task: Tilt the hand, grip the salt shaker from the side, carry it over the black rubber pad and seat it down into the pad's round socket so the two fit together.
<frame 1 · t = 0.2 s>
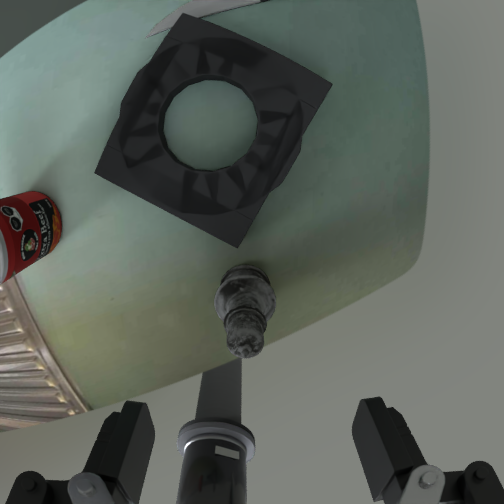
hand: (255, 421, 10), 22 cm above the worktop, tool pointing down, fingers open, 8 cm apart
canned food: (39, 221, 30), on the worktop
black pad: (209, 124, 28), on the worktop
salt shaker: (245, 287, 33), on the worktop
chef's knife: (230, 0, 24), on the worktop
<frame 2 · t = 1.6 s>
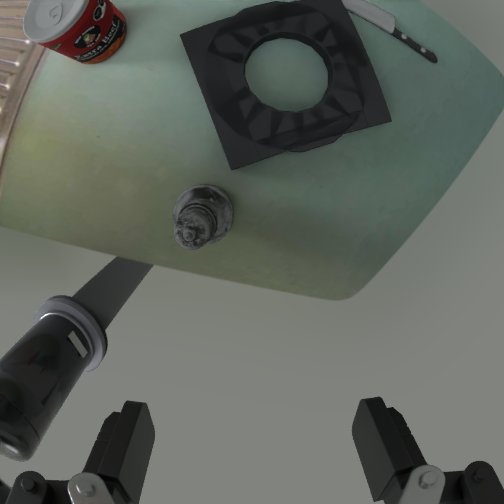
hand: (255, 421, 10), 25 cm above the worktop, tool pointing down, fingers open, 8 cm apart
canned food: (100, 37, 27), on the worktop
black pad: (287, 74, 29), on the worktop
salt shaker: (207, 208, 33), on the worktop
chef's knife: (373, 15, 27), on the worktop
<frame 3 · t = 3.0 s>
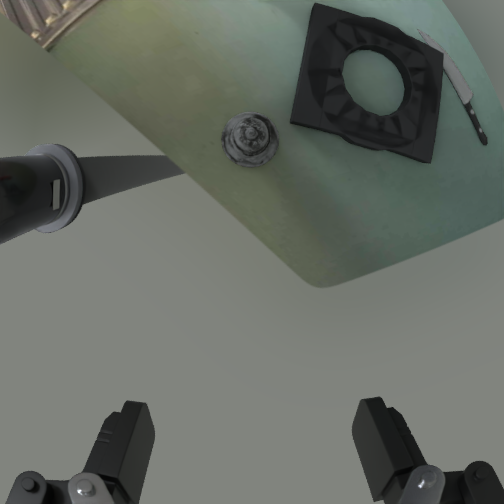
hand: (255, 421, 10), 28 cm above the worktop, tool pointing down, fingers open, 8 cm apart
black pad: (372, 82, 31), on the worktop
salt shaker: (249, 141, 34), on the worktop
chef's knife: (458, 84, 31), on the worktop
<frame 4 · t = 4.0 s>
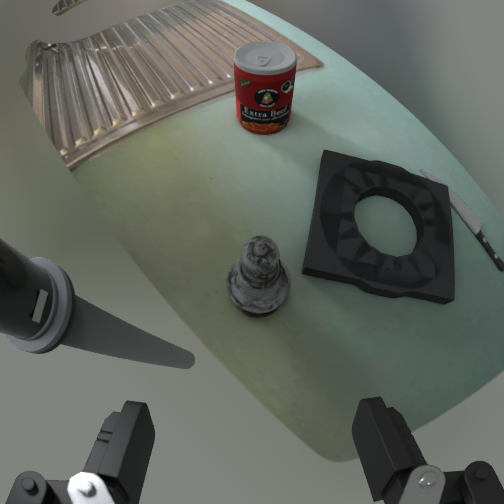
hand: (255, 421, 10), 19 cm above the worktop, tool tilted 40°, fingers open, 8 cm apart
canned food: (263, 117, 42), on the worktop
black pad: (384, 227, 35), on the worktop
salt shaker: (258, 292, 32), on the worktop
chef's knife: (466, 216, 36), on the worktop
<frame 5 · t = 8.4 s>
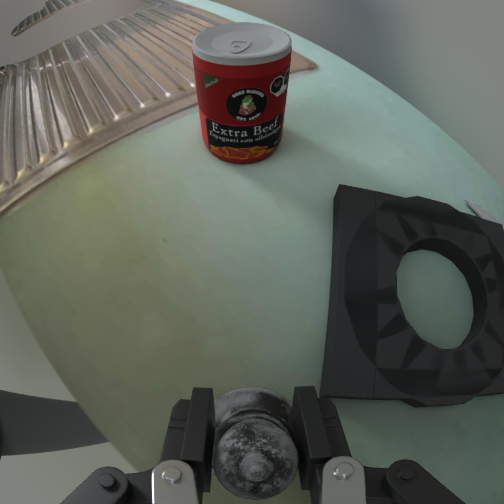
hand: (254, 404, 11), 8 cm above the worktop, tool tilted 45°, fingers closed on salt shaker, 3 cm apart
canned food: (242, 139, 29), on the worktop
black pad: (434, 299, 22), on the worktop
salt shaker: (251, 432, 17), on the worktop, touching gripper
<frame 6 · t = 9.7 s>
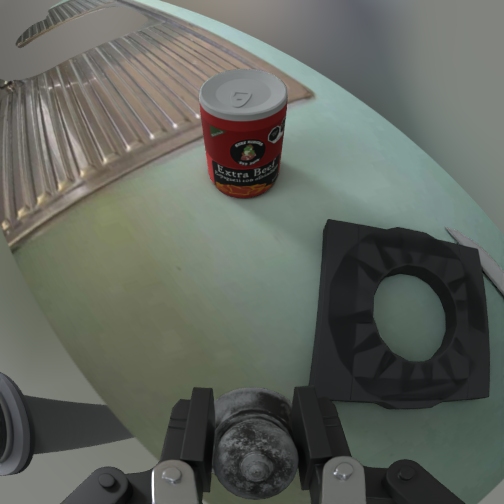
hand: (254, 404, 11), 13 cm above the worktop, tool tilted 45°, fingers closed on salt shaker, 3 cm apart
canned food: (244, 173, 34), on the worktop
black pad: (408, 318, 26), on the worktop
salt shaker: (251, 432, 17), point 5 cm above the worktop, touching gripper
chef's knife: (497, 279, 28), on the worktop
when the fingers open (8 cm above the worktop, at t = 18.1 s): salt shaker stays where it is, resting in black pad.
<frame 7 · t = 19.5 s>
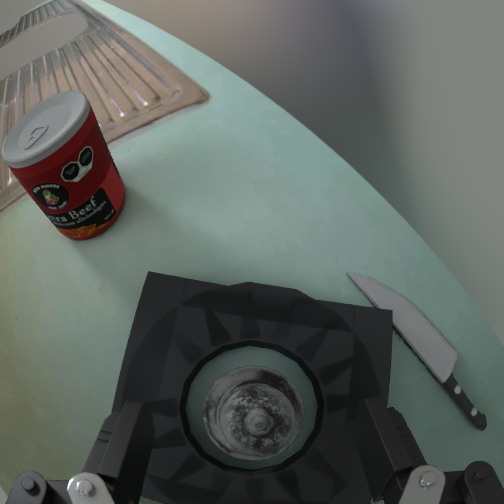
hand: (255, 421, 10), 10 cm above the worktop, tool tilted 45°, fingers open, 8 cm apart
canned food: (91, 207, 27), on the worktop
black pad: (251, 408, 19), on the worktop
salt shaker: (252, 411, 19), resting in black pad
chef's knife: (429, 348, 21), on the worktop
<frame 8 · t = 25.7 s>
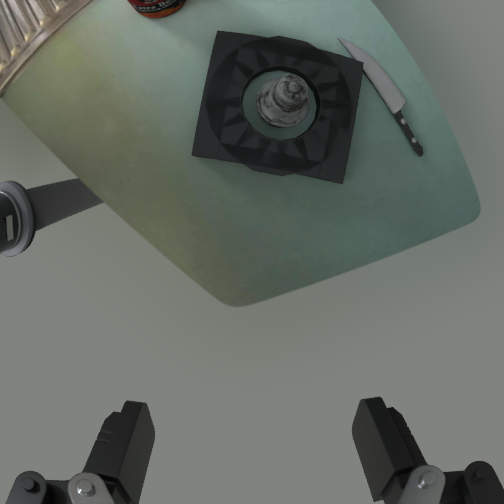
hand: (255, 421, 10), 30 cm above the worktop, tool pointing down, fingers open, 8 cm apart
black pad: (279, 104, 34), on the worktop
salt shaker: (279, 106, 35), resting in black pad
chef's knife: (387, 92, 34), on the worktop
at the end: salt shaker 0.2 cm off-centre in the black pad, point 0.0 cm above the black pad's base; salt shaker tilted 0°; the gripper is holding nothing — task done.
